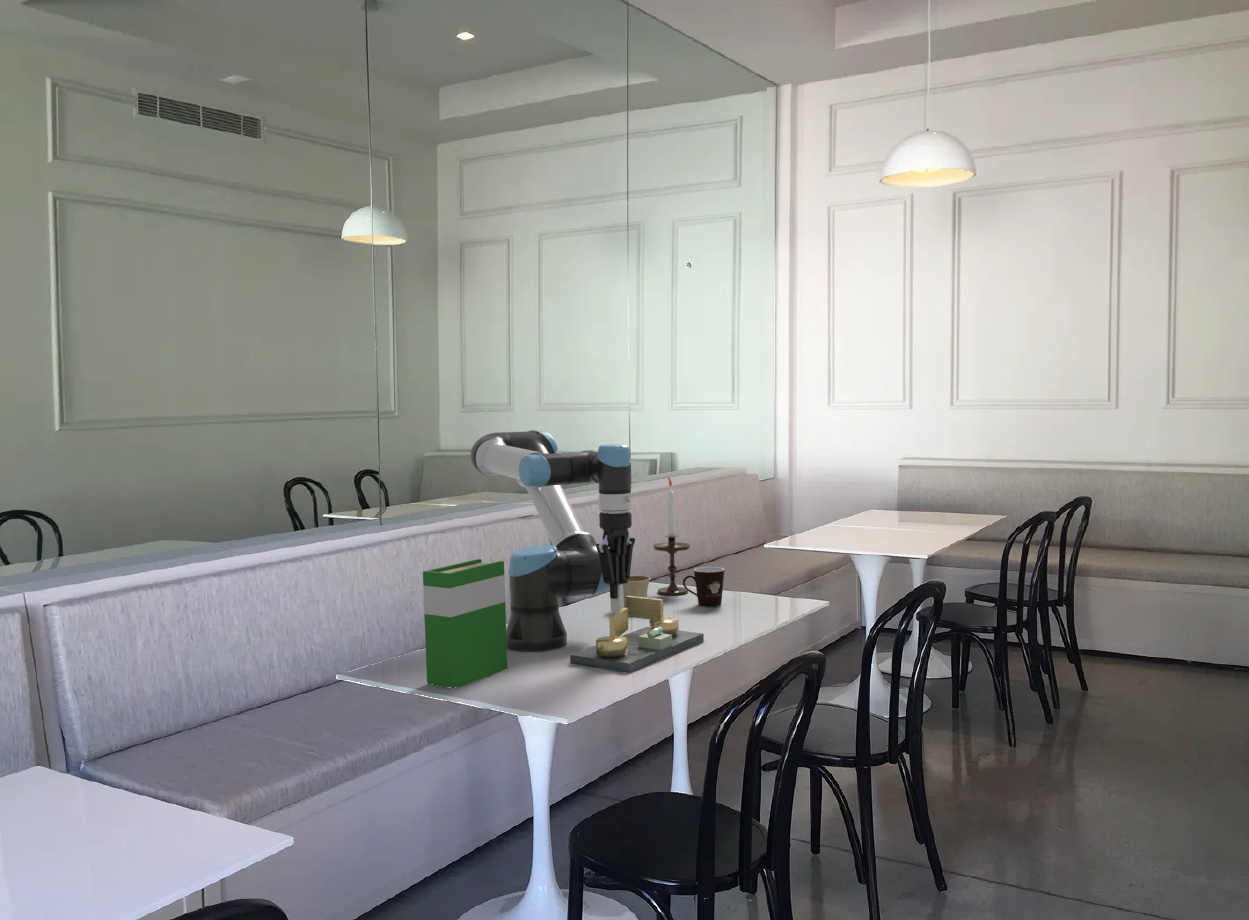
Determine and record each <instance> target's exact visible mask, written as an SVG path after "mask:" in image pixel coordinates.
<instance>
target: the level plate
mask: <svg viewBox="0 0 1249 920" xmlns="http://www.w3.org/2000/svg"><path fill="white" fill-rule="evenodd" d="M662 633H663V628H662V627H658V628H655V629H652V630H650V626H646V627H643V628H640V629H637V630H635V631H632V632H629V633H626V634H624V635H623V634H622V635H621V636H622V637H625V638H627V645H628V653H627V654H625V655H622V656H616V657H605V656H599V655H597V654H596V645H592V646H590V647H587V648H584V649H583V650H579V651H577V652H574V653H571V654H569V664H571V665H576V666H583V667H590V668H596V669H602V670H610V671H616V672H623V673H629V674H630V673H632V672H634V671H637V670H640V669H641V668H642V669H643V668H644V667H646V666H649V665H652V664H653V663H656V662H658V661H661V660H663V659H665V658H668V657H670V656H673V655H675V654H677V653H680V652H682V651H685V650H687V649H689V648H692V647H695V646H698V645H699V644H702V643H704V641H705V640H704V639H705V638H704V637H705V636H704V633H702V632H695V631H687V630H679V633H678V634H677V635H673V636H672V635H669V634H662Z"/></svg>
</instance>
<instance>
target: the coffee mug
mask: <svg viewBox="0 0 1249 920" xmlns="http://www.w3.org/2000/svg"><path fill="white" fill-rule="evenodd" d="M693 574H694V575H692V574H691V575H687V576H685V577H684V578H683V579H682V585H683V588H686V589H687V590H688V593H691V594H692V595H694V596H696V598H697V603H698V606H699V607H704V608H716V607H720V606H722V600H723V589H724V580H725V579H724V577H725V568H723V567H719V566H717V567H716V566H702V567H696V568H694V569H693ZM689 578H692V579H693V581H694V582H695V589H696V590H695V591H696V592H694V591H692V590H691V589H689V588H688V587H687V585H686V581H687V580H688V579H689Z"/></svg>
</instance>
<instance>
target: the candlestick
mask: <svg viewBox="0 0 1249 920" xmlns="http://www.w3.org/2000/svg"><path fill="white" fill-rule="evenodd" d="M667 481H668V484H669V485H668V486H669V489H668V491H667V524H668V529H667V530H668V533H667V534H668V535H665V538H667V542H660V543H655V544H654V545H653V550H655V551H659V552H660V551H661V552H666V553H667V554H669V565H668V566H667V571H669V575H668V578H670V579H669V580H670V581H669V582H670V583H669V584H668V586H666V587H665V586H664V587H660V588H658V589H657V594H658V595H661V596H668V597H669V596H671V597H672V596H673V597H675V596H676V597H677V596H683V595H687V594H688V593H689V591H688V590H687V589H686V588H685V587H684V586H683V587H681V586H677V584H676V578H677V575H676V571H677V570H678V567H677V565H675V554H677V552H682V551H687V550H690V549H691V544H690V543H688V542H679V541H678V542H676V538H677V537H679V536H678V535H676V534H675V529H676V527H675V526H676V525H675V493H674V492H675V491H673V488H672V484H673V483H672V480H671V478H670V476H668V479H667Z"/></svg>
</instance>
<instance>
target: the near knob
mask: <svg viewBox="0 0 1249 920" xmlns="http://www.w3.org/2000/svg"><path fill="white" fill-rule="evenodd" d="M608 620H609V635H607V636H601V637H597V638H596V639H595V646H596V654H597V655H599V656H605V657H616V656H622V655H625V654H627V653H628V645H627V638H625V637H622V636H623V634H624V633H626V632H627V631H628V630H629V617H628V608H622V609H620V610H619V611H617V612H613V614H611V615H610V616H609V617H608Z"/></svg>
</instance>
